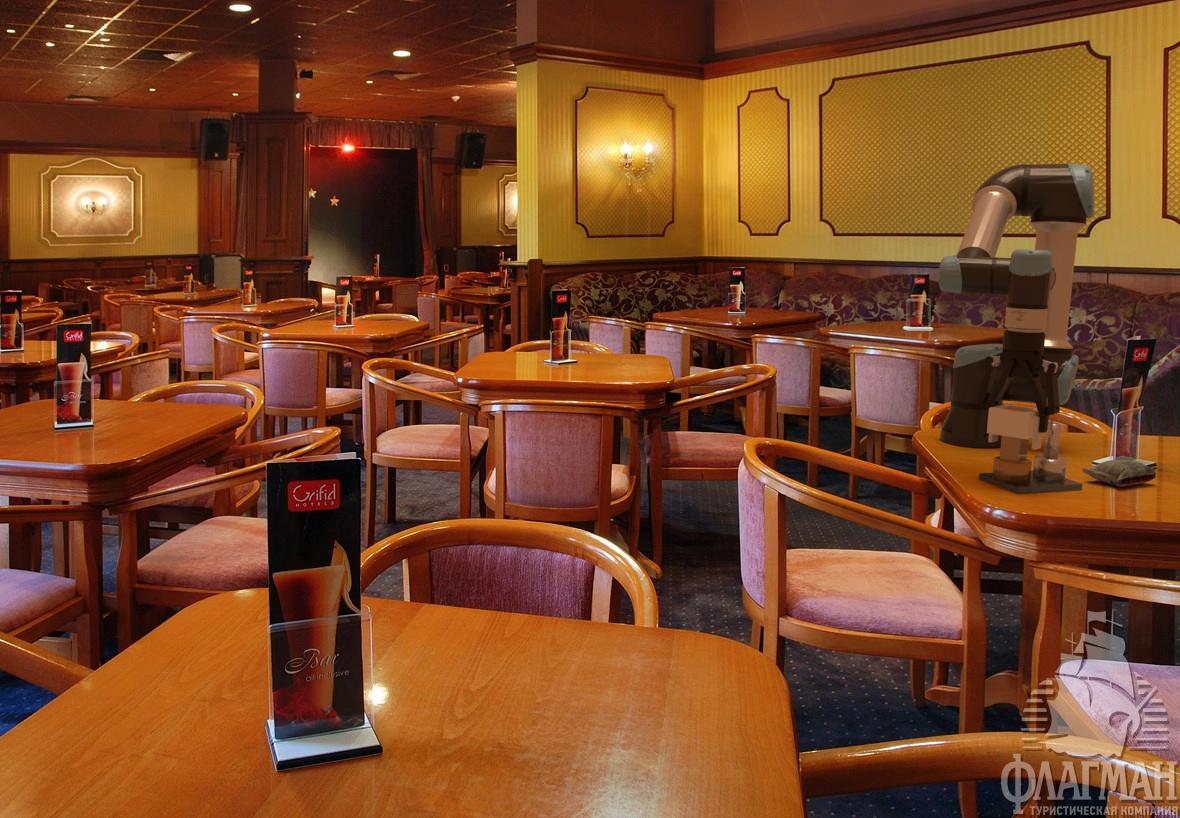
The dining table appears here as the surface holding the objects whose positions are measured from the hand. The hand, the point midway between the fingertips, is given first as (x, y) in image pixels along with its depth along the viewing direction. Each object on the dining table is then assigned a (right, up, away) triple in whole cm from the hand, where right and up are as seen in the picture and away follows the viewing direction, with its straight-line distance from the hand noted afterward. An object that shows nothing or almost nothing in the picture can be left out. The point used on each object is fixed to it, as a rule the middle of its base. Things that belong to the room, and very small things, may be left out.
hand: (1014, 444), depth 214 cm
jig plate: (+4, -8, +3) cm, 9 cm away
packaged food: (+23, -8, +6) cm, 25 cm away
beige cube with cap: (0, +2, 0) cm, 2 cm away
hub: (0, -7, +1) cm, 7 cm away
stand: (+8, -7, +4) cm, 11 cm away
